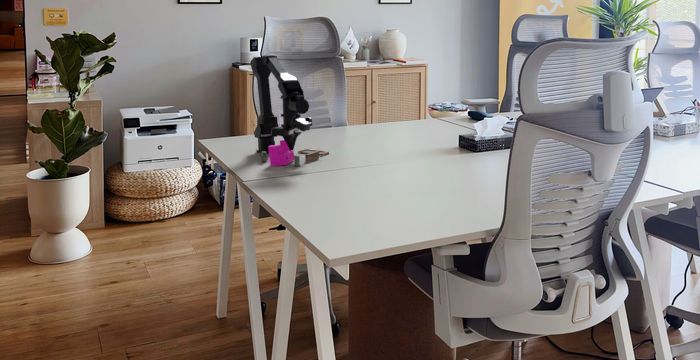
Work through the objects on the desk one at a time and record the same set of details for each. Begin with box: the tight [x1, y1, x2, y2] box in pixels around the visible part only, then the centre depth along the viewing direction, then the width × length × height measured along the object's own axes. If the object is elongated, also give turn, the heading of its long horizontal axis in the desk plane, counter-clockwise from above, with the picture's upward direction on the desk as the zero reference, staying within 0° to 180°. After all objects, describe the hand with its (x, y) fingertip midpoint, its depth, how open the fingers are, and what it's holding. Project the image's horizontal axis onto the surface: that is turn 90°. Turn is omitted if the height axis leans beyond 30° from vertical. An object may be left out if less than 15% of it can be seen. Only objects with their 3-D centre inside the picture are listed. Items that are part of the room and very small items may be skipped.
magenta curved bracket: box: [268, 139, 295, 166], centre depth 288 cm, size 15×6×8 cm, turn 165°
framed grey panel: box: [260, 148, 330, 168], centre depth 294 cm, size 18×27×4 cm, turn 149°
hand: (291, 150), depth 289 cm, fingers closed
